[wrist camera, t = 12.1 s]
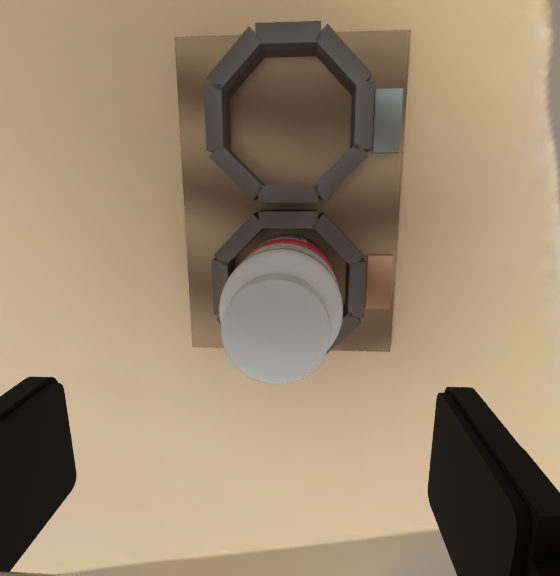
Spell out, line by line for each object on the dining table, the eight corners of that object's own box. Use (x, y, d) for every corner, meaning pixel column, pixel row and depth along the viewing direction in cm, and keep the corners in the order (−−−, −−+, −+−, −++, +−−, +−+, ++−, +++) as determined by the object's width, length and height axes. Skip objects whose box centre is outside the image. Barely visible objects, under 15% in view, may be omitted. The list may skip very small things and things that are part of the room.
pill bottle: (285, 338, 29) (270, 427, 18) (224, 275, 28) (172, 328, 18) (353, 281, 28) (380, 340, 17) (291, 213, 27) (280, 229, 16)
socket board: (179, 42, 26) (160, 21, 23) (406, 36, 25) (421, 12, 22) (196, 341, 31) (182, 361, 27) (387, 346, 30) (397, 366, 26)
